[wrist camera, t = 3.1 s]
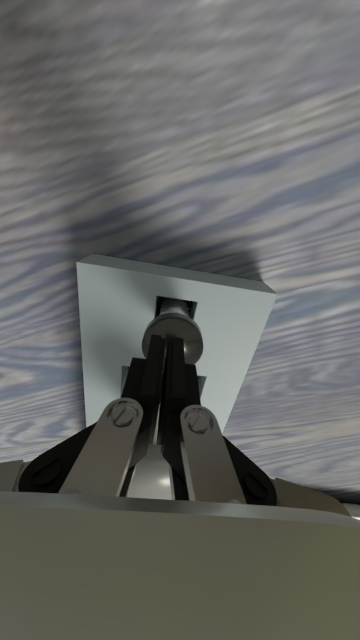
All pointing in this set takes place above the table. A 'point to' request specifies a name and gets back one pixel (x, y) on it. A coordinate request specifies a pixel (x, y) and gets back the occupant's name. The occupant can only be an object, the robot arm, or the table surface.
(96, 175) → the table surface
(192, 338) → the plunger
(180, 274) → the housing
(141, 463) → the cartridge
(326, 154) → the table surface
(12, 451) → the table surface
